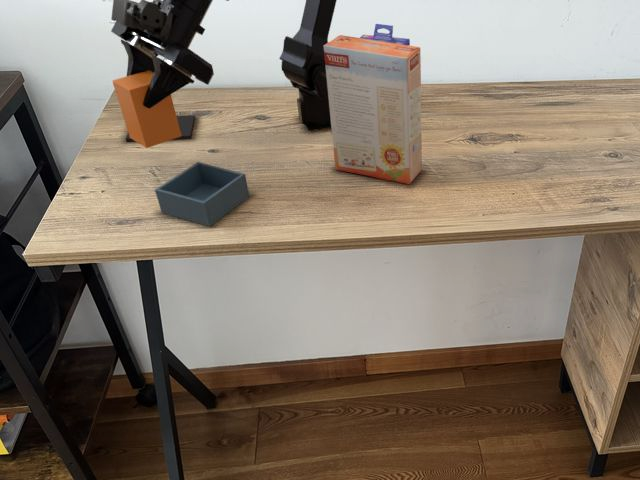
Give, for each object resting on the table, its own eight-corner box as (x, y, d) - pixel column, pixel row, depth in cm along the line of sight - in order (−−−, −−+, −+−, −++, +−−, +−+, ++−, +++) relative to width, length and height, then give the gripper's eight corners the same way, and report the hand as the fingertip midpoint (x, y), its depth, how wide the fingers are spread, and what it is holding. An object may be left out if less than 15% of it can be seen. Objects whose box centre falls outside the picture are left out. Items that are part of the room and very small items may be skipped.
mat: (195, 118, 130) (194, 115, 130) (190, 138, 124) (190, 135, 123) (134, 120, 128) (133, 117, 128) (126, 141, 122) (125, 138, 121)
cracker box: (423, 170, 118) (422, 45, 104) (409, 186, 114) (407, 58, 100) (349, 155, 121) (340, 32, 107) (334, 170, 117) (321, 43, 103)
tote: (203, 184, 112) (198, 161, 109) (249, 196, 110) (245, 173, 107) (161, 212, 105) (154, 189, 102) (209, 226, 103) (204, 203, 100)
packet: (164, 126, 110) (149, 70, 104) (181, 136, 108) (167, 79, 102) (129, 137, 107) (111, 80, 101) (146, 148, 105) (129, 90, 99)
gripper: (103, -42, 99) (55, 55, 100) (174, -14, 90) (120, 92, 91) (167, 6, 109) (123, 93, 110) (236, 35, 100) (187, 130, 101)
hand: (136, 101), depth 103 cm, fingers closed on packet, 5 cm apart
